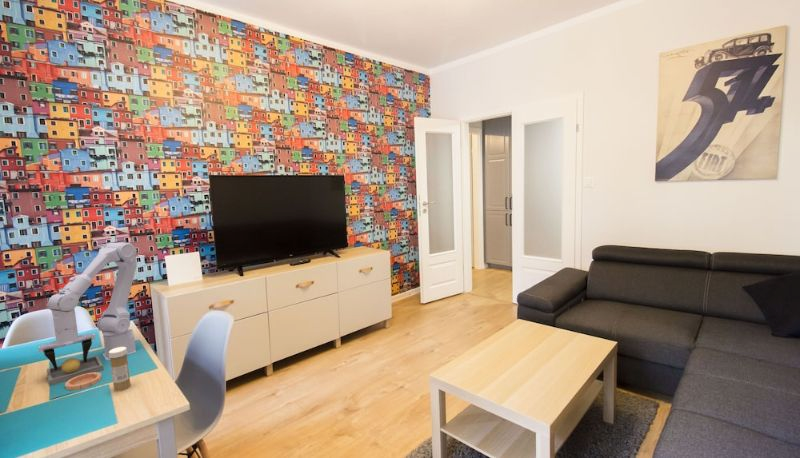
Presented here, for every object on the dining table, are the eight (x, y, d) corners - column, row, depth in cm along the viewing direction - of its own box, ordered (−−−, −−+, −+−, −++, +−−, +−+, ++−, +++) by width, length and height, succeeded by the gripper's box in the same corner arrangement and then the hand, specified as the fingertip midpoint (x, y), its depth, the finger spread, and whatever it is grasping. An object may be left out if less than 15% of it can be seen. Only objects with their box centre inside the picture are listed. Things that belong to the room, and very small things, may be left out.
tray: (98, 361, 140) (97, 355, 139) (103, 371, 131) (103, 365, 131) (47, 375, 130) (46, 369, 129) (49, 387, 121) (49, 380, 121)
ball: (79, 367, 133) (77, 354, 133) (82, 371, 130) (80, 358, 129) (61, 373, 129) (59, 359, 129) (63, 377, 126) (61, 363, 126)
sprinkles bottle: (132, 384, 122) (127, 345, 121) (129, 390, 118) (124, 350, 117) (115, 387, 120) (110, 348, 119) (111, 394, 116) (106, 353, 115)
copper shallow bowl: (99, 374, 129) (98, 369, 129) (103, 383, 123) (102, 378, 123) (64, 384, 123) (64, 379, 123) (67, 394, 117) (66, 389, 117)
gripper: (37, 337, 120) (42, 376, 122) (94, 324, 130) (99, 361, 132) (36, 331, 125) (41, 370, 126) (91, 319, 135) (96, 355, 137)
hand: (70, 365), depth 130 cm, fingers open, 7 cm apart
